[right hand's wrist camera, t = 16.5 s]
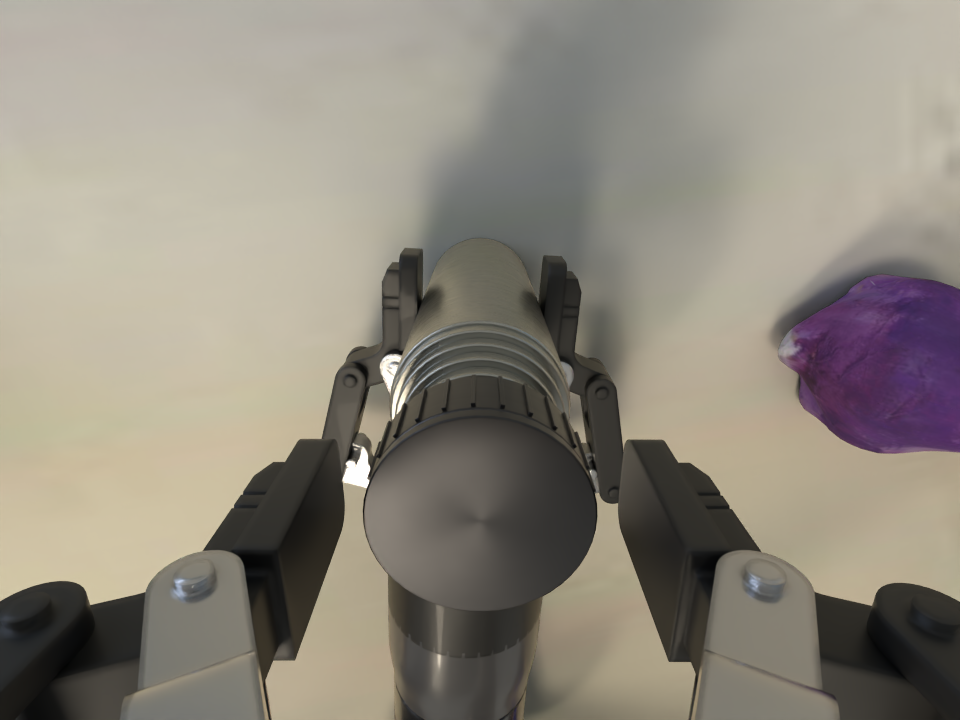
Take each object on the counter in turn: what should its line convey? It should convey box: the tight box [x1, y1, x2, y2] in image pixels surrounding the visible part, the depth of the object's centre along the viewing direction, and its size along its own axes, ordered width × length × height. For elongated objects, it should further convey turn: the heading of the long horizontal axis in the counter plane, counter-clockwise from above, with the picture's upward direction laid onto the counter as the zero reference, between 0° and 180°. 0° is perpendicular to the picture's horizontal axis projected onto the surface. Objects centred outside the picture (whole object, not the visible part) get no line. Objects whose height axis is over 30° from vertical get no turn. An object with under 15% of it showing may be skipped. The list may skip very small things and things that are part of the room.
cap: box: [363, 374, 597, 612], centre depth 11 cm, size 4×4×2 cm
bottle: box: [390, 238, 570, 422], centre depth 20 cm, size 5×5×18 cm
